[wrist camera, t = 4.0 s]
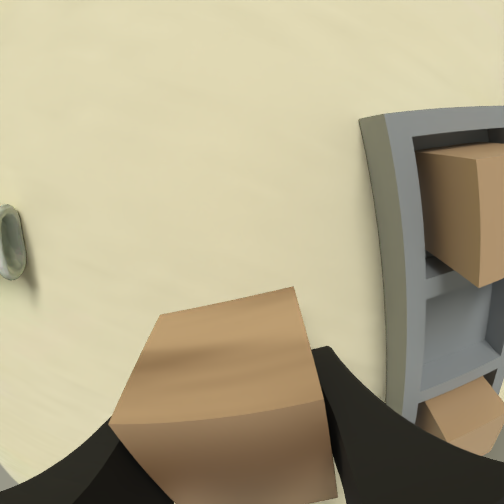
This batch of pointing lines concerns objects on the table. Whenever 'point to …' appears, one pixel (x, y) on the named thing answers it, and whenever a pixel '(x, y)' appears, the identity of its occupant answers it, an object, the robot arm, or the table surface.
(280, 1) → the table surface
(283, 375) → the walnut block
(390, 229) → the pocket tray
